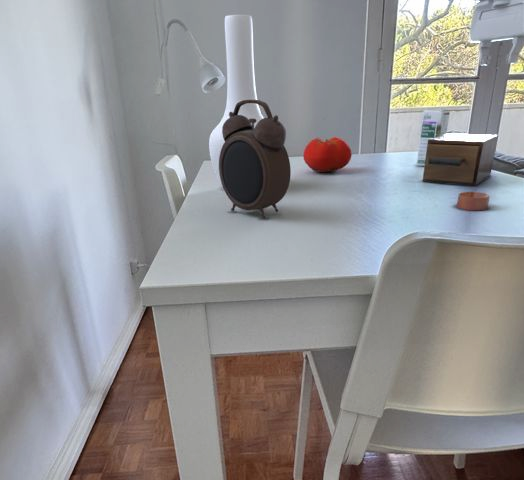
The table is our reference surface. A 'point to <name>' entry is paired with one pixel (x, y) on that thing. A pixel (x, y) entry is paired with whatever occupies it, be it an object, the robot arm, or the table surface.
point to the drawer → (451, 162)
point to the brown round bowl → (473, 201)
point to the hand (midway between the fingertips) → (496, 64)
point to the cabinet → (483, 160)
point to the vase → (236, 79)
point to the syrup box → (431, 130)
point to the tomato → (327, 154)
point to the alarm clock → (254, 160)
